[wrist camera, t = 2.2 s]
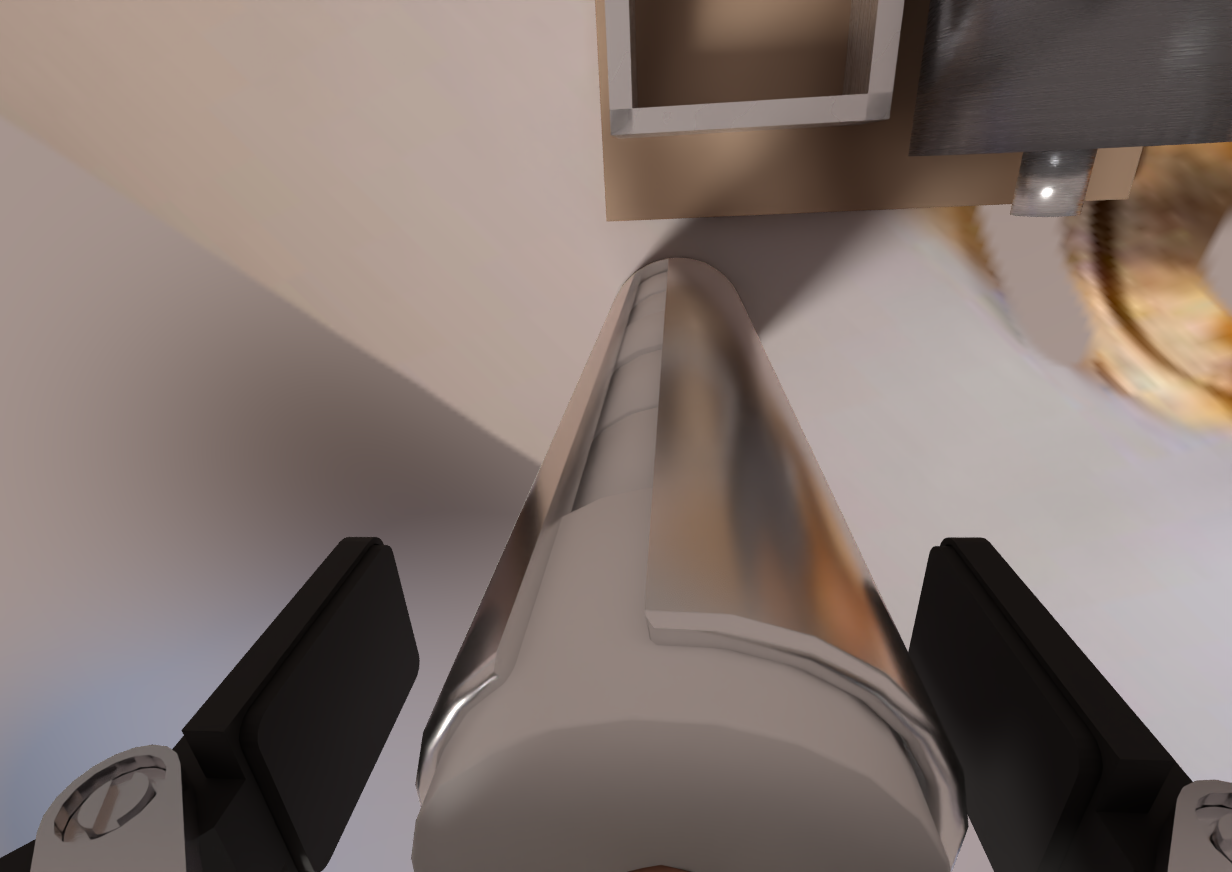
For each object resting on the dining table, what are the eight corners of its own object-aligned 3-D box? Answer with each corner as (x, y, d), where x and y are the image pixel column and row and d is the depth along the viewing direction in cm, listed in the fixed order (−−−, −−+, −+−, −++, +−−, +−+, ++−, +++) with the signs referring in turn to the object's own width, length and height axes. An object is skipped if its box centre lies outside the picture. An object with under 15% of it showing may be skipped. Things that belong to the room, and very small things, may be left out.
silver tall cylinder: (603, 379, 30) (389, 1026, 8) (617, 247, 27) (346, 653, 5) (730, 396, 30) (898, 1118, 7) (757, 265, 27) (1161, 778, 5)
